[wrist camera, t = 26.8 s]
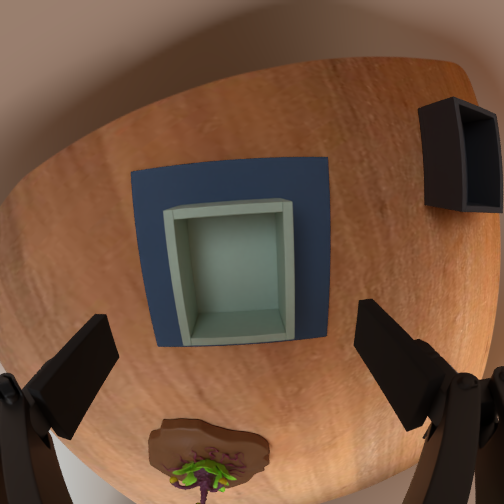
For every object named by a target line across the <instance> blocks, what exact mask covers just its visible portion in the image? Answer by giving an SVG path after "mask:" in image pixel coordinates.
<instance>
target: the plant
mask: <svg viewBox="0 0 504 504" xmlns="http://www.w3.org/2000/svg"><path fill="white" fill-rule="evenodd" d="M148 444H149V462H150V464H151V466H153V467H155V468H156V469H158V470H159V471H161V472H162V473H164V474H166V475H168V476H170V477H171V478H170V483H171V484H172V485H173V486H175V487H177V488H179V489H180V488H181V489H185V490H186V489H191V488H194V487H197V486H200V491H201V500H200V502H201V503H196V504H205V501H206V500H207V498H206V497H207V494H208V492H207V491H210V492H217V491H221V492H224V491H225V488H231V487H234V486H237V485H240V484H243V483H246V482H247V481H249V480H250V479H251V478H252V477H253V475H254V474H256V473H258V472H262V471H264V467H265V466H267V465H268V464H269V455H268V454H269V452H270V450H269V444H268V443H267V441H266V440H265V439H263V438H262V437H260V436H259V435H257V434H253V433H249V432H240V431H231V430H227V429H223V428H219V427H216V426H213V425H210V424H207V423H205V422H203V421H201V420H189V419H176V420H166V419H164V420H163V422H162V425H161V428H160V429H158V430H155V431H152V432H151V434H150V437H149V440H148ZM178 480H180V481H182V483H184V484H185V483H186V484H185V486H181V485H179V481H178Z"/></svg>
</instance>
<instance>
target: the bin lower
mask: <svg viewBox="0 0 504 504" xmlns="http://www.w3.org/2000/svg"><path fill="white" fill-rule="evenodd" d="M418 113H419V121H420V129H421V138H422V149H423V163H424V192H425V204H424V205H427V206H433V207H439V208H444V209H450V210H455V211H460V212H483V213H503V171H502V156H501V145H500V137H499V129H498V123H497V116H496V114H494V113H492V112H490V111H488V110H485V109H483V108H481V107H479V106H476V105H474V104H471V103H469V102H466V101H464V100H461V99H458V98H456V97H450V98H447V99H444V100H441V101H438V102H435V103H432V104H429V105H426V106H424V107H421V108H418Z"/></svg>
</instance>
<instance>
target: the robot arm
mask: <svg viewBox="0 0 504 504" xmlns="http://www.w3.org/2000/svg"><path fill="white" fill-rule="evenodd" d="M354 347H355V348H356V350H357V352H358V353H359V355H360V356H361V358H362V359H363V361H364V363H365V364H366V366H367V367H368V369H369V370H370V372H371V374H372V375H373V377H374V378H375V380H376V382H377V383H378V385H379V387H380V388H381V390H382V391H383V393H384V395H385V396H386V398H387V400H388V401H389V403H390V405H391V406H392V408H393V409H394V411H395V413H396V415H397V416H398V418H399V420H400V421H401V423H402V425H403V426H404V428H405V430H406V431H410V430H413V429H415V428H418V427H420V426H422V425H423V424H424V422H425V420H426V418H427V416H428V417H429V418H430V420H431V421H432V422H431V424H430V426H429V427H428V429H427V431H426V433H425V434H424V436H423V439H425V437H426V439H425V443H424V446H423V450H422V453H421V456H420V459H419V462H418V465H417V468H416V471H415V473H414V476H413V479H412V481H411V484H410V487H409V489H408V491H407V494H406V496H405V498H404V500H403V503H402V504H467V502H468V498H469V494H470V490H471V485H472V481H473V476H474V470H475V489H476V504H504V366H501V367H497V368H496V369H495V370H494V372H493V374H492V376H491V378H488V379H482V380H478V378H477V377H476V376H474V375H472V374H470V373H457V372H456V371H455V370H454V369H453V368H452V367H451V366H450V365H449V364H448V363H447V362H446V361H445V360H444V359H443V358H442V357H441V356H440V355H439V354H438V353H437V352H436V351H435V350H434V349H433V348H432V347H431V346H430V345H429V344H428V343H426V342H424V341H422V340H420V339H417V340H413V339H412V338H411V336H410V335H409V334H408V333H407V332H406V331H405V330H404V329H403V328H402V327H401V326H400V325H399V324H398V323H397V322H396V321H395V320H394V319H393V318H391V317H390V316H389V315H388V314H387V313H386V312H385V311H384V310H383V309H382V308H381V307H380V306H379V305H378V304H377V303H376V302H375V301H374V300H373V299H365V300H359V304H358V314H357V323H356V331H355V338H354ZM118 358H119V354H118V351H117V348H116V345H115V342H114V339H113V336H112V332H111V329H110V326H109V322H108V319H107V315H106V314H95V315H94V316H93V317H92V318H91V319H90V320H89V321H88V322H87V323H86V324H85V325H84V326H83V327H82V328H81V329H80V330H79V331H78V332H77V333H76V334H75V335H74V336H73V337H72V338H71V339H70V340H69V341H68V342H67V344H66V345H65V346H64V347H63V348H62V349H61V350H60V351H59V352H58V353H57V354H56V355H55V356H54V357H53V358H52V359H50V360H48V361H47V362H46V363H45V364H44V365H43V366H42V367H41V369H39V371H38V372H37V374H35V375H34V376H33V377H32V379H31V380H30V381H29V382H28V383H27V384H26V385H25V387H24V388H23V389H22V390H21V388H20V386H19V385H18V383H17V381H16V379H15V377H14V375H12V374H11V373H3V374H1V375H0V504H73V502H72V499H71V497H70V494H69V492H68V489H67V487H66V484H65V481H64V478H63V475H62V472H61V469H60V466H59V462H58V459H57V456H56V452H55V448H54V444H53V440H52V437H51V435H50V433H49V432H48V431H49V430H50V428H51V427H52V429H53V430H54V431H55V433H56V434H57V436H59V437H62V438H65V439H68V440H71V439H72V437H73V435H74V433H75V432H76V430H77V428H78V426H79V424H80V422H81V421H82V419H83V417H84V415H85V414H86V412H87V410H88V408H89V407H90V405H91V403H92V401H93V400H94V398H95V396H96V395H97V393H98V391H99V390H100V388H101V386H102V385H103V383H104V381H105V380H106V378H107V376H108V375H109V373H110V371H111V370H112V368H113V366H114V365H115V363H116V362H117V360H118ZM497 416H498V417H499V421H498V418H497Z"/></svg>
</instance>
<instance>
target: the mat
mask: <svg viewBox="0 0 504 504" xmlns="http://www.w3.org/2000/svg"><path fill="white" fill-rule="evenodd" d="M131 184H132V196H133V207H134V217H135V226H136V234H137V242H138V249H139V256H140V262H141V268H142V274H143V280H144V286H145V291H146V296H147V301H148V306H149V311H150V315H151V320H152V324H153V329H154V333H155V337H156V341H157V345H158V347H198V346H227V345H245V344H260V343H272V342H283V341H293V340H302V339H310V338H318V337H326V336H327V325H328V308H329V286H330V191H329V169H328V157H278V158H253V159H236V160H223V161H211V162H200V163H191V164H182V165H174V166H166V167H159V168H152V169H145V170H139V171H133V172H131ZM270 198H282V199H286V200H289V201H292V202H293V228H294V269H295V338H294V339H291V340H281V341H270V342H258V343H243V344H225V345H192V346H183V341H182V336H181V331H180V326H179V321H178V315H177V310H176V304H175V298H174V292H173V286H172V280H171V273H170V266H169V259H168V251H167V243H166V234H165V225H164V216H163V211H164V210H167V209H170V208H173V207H176V206H179V205H187V204H198V203H210V202H222V201H236V200H252V199H270Z"/></svg>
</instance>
